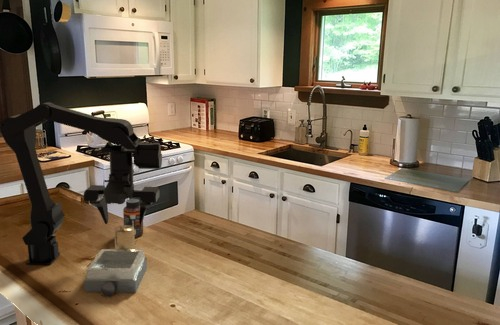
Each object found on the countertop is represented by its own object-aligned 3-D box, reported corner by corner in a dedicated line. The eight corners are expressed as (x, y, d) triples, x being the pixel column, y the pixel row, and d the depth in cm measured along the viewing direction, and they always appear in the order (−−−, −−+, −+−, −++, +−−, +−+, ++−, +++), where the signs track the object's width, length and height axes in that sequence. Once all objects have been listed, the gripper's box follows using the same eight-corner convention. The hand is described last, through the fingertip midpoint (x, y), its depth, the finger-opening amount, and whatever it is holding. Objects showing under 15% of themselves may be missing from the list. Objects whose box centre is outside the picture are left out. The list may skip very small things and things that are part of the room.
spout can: (112, 264, 110) (110, 226, 108) (118, 254, 116) (117, 218, 113) (132, 264, 110) (130, 226, 108) (137, 255, 116) (136, 218, 113)
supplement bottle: (138, 239, 126) (136, 204, 124) (120, 237, 127) (118, 202, 125) (146, 231, 132) (145, 198, 129) (129, 229, 133) (128, 196, 130)
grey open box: (81, 296, 95) (80, 274, 93) (101, 267, 108) (100, 248, 107) (133, 296, 95) (133, 275, 94) (147, 268, 108) (146, 249, 107)
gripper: (73, 175, 99) (77, 235, 103) (150, 177, 100) (152, 236, 103) (89, 164, 110) (92, 219, 113) (159, 166, 110) (160, 220, 114)
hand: (123, 223), depth 111 cm, fingers open, 9 cm apart
